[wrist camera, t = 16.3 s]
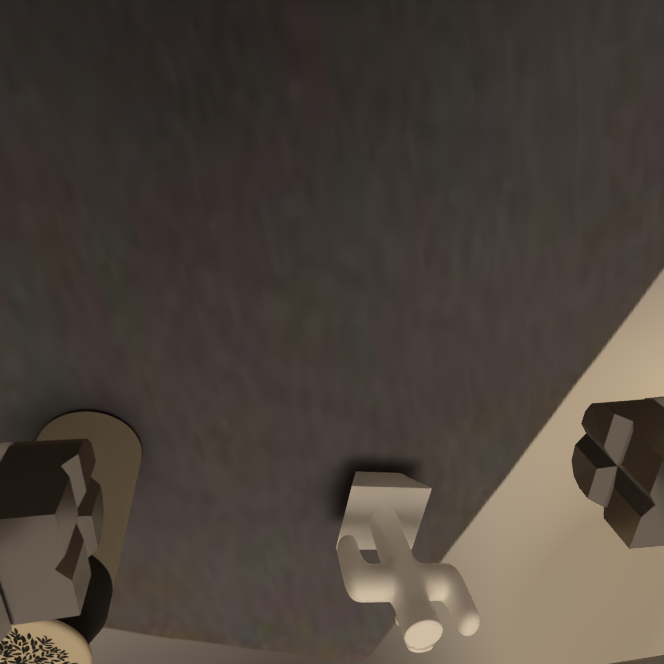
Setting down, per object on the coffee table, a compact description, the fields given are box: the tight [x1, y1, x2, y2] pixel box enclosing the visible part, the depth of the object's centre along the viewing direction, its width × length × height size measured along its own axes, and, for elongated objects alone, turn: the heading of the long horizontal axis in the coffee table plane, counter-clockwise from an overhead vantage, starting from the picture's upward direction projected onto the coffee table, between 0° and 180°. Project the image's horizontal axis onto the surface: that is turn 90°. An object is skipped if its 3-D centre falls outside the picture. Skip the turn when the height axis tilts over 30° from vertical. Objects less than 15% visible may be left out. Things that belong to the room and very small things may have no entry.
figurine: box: [336, 471, 480, 653], centre depth 45 cm, size 7×9×15 cm
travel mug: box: [0, 412, 142, 664], centre depth 36 cm, size 8×8×18 cm
